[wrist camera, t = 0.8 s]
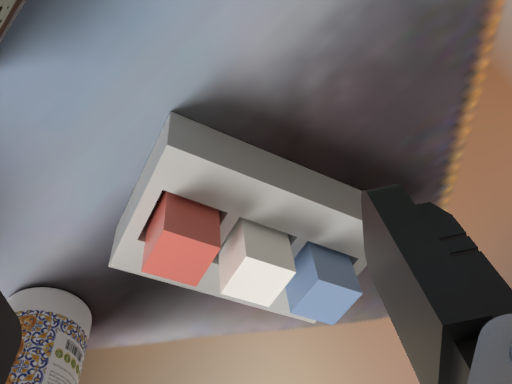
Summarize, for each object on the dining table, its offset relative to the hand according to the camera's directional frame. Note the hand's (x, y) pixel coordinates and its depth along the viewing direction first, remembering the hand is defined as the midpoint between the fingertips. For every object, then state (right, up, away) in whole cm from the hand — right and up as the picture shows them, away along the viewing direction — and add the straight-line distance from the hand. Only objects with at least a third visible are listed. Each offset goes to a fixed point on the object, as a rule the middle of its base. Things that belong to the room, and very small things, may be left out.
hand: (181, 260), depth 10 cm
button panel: (+1, 0, +23) cm, 23 cm away
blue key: (+6, -3, +23) cm, 24 cm away
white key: (+1, -1, +21) cm, 21 cm away
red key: (-3, 0, +20) cm, 20 cm away
